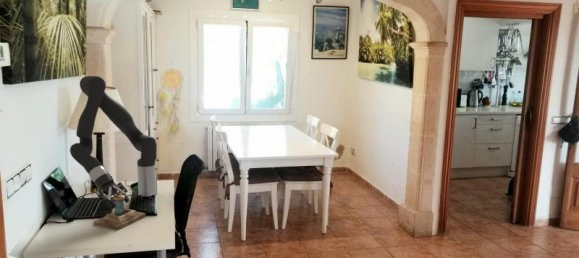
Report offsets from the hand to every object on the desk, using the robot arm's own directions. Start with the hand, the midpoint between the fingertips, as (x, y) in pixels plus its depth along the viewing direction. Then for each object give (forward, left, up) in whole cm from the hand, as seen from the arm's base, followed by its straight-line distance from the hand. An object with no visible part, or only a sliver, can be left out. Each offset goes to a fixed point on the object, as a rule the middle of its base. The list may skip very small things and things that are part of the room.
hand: (121, 204), depth 208 cm
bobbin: (0, -1, -6) cm, 6 cm away
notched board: (0, -1, -8) cm, 8 cm away
